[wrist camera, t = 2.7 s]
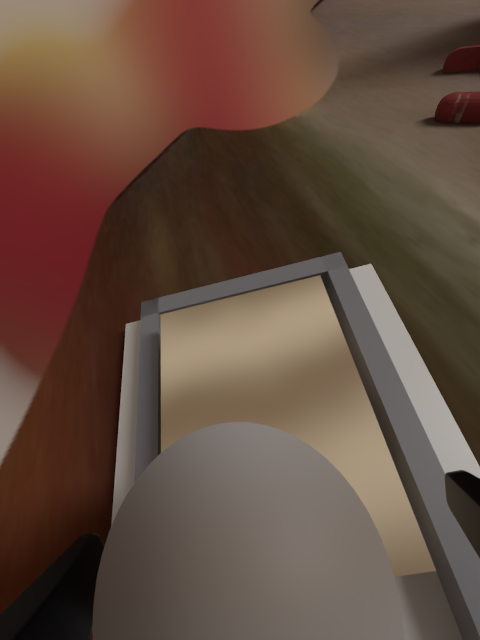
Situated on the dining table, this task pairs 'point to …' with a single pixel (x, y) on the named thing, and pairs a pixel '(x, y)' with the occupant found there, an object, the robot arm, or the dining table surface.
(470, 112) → the pliers
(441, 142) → the dining table surface
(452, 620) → the bay
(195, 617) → the cylinder on cream base
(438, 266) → the dining table surface
